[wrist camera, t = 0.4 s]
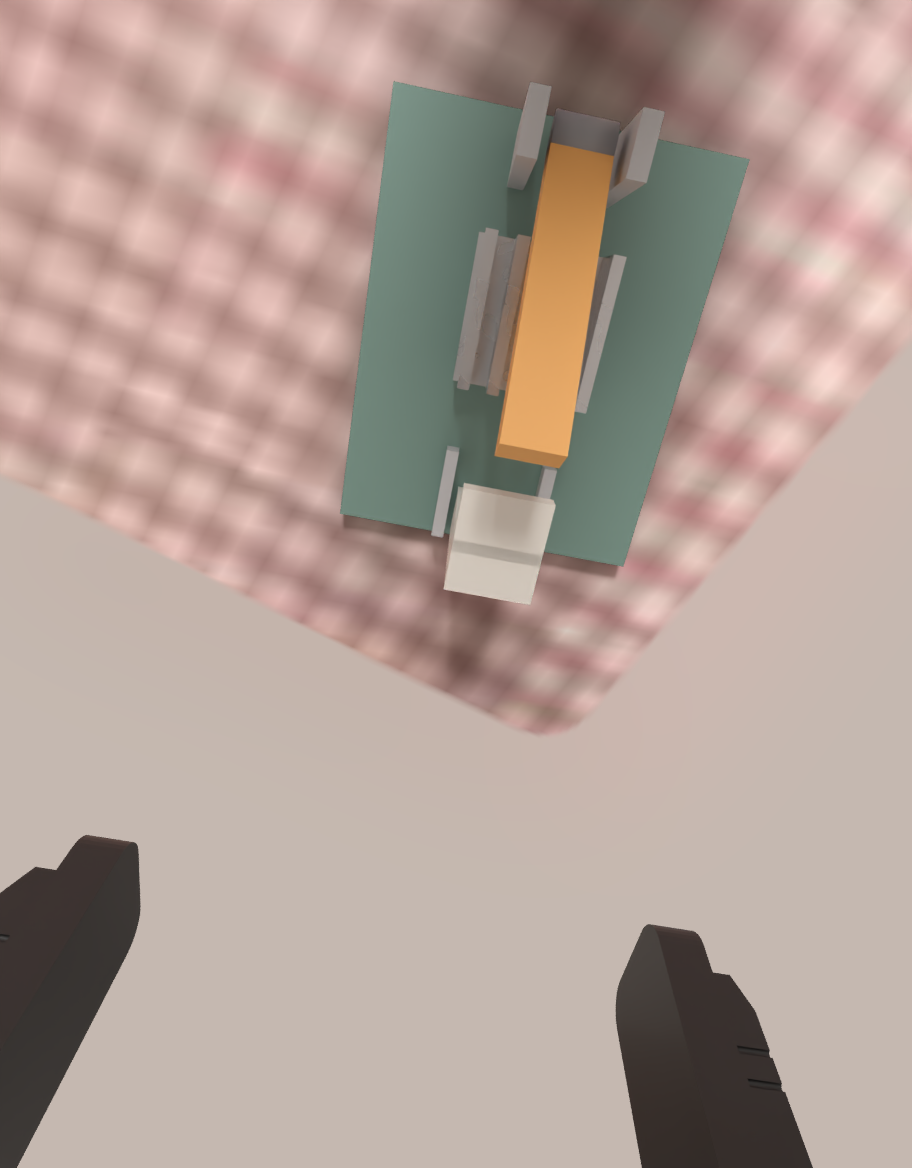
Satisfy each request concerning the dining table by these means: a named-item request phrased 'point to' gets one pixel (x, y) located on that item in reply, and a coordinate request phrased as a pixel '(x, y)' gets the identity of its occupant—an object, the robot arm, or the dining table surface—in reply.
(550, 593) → the dining table surface
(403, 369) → the board
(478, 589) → the block
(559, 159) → the orange bar
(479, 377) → the heatsink
